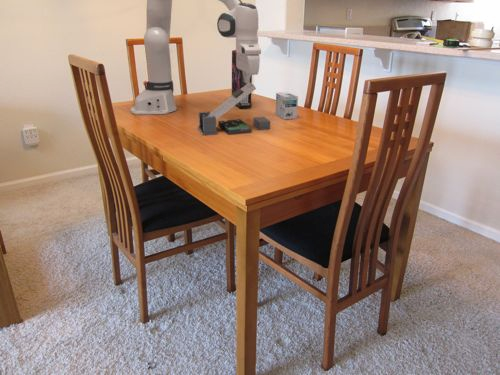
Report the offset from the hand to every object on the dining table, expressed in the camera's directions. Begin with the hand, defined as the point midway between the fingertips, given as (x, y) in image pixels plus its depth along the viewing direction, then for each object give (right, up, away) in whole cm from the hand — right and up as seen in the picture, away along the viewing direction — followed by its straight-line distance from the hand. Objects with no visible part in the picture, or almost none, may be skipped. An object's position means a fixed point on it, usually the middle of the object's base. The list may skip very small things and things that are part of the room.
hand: (246, 82), depth 172 cm
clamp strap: (-7, -9, +2) cm, 12 cm away
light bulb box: (+19, -10, +27) cm, 34 cm away
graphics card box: (-3, 0, +47) cm, 47 cm away
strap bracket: (-5, -18, +6) cm, 20 cm away
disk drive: (-5, -19, +7) cm, 21 cm away
